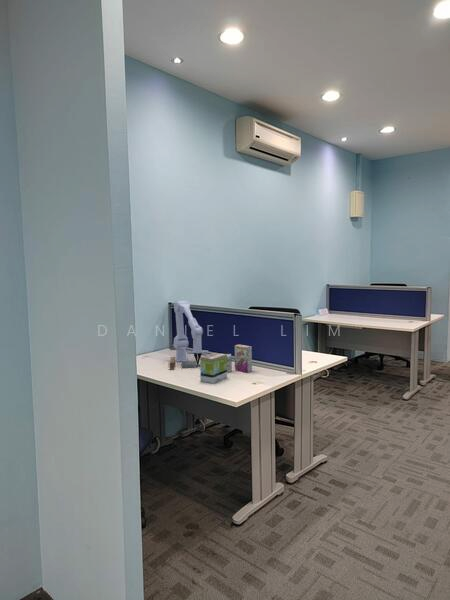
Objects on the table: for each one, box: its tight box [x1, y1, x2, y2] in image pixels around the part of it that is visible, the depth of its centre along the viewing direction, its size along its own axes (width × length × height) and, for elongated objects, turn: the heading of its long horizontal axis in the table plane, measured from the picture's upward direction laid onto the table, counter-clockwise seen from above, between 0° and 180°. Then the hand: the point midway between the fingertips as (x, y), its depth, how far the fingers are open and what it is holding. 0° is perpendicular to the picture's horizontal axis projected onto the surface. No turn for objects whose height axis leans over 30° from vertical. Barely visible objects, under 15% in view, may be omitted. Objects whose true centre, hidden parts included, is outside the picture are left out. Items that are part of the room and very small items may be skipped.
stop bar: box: [169, 356, 176, 371], centre depth 267 cm, size 16×3×5 cm, turn 5°
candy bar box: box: [234, 344, 253, 374], centre depth 253 cm, size 11×5×16 cm, turn 47°
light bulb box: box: [226, 353, 233, 373], centre depth 253 cm, size 11×7×11 cm, turn 84°
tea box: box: [199, 352, 228, 384], centre depth 235 cm, size 15×10×15 cm, turn 148°
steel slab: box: [181, 360, 197, 369], centre depth 268 cm, size 10×10×3 cm
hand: (197, 364), depth 268 cm, fingers closed
